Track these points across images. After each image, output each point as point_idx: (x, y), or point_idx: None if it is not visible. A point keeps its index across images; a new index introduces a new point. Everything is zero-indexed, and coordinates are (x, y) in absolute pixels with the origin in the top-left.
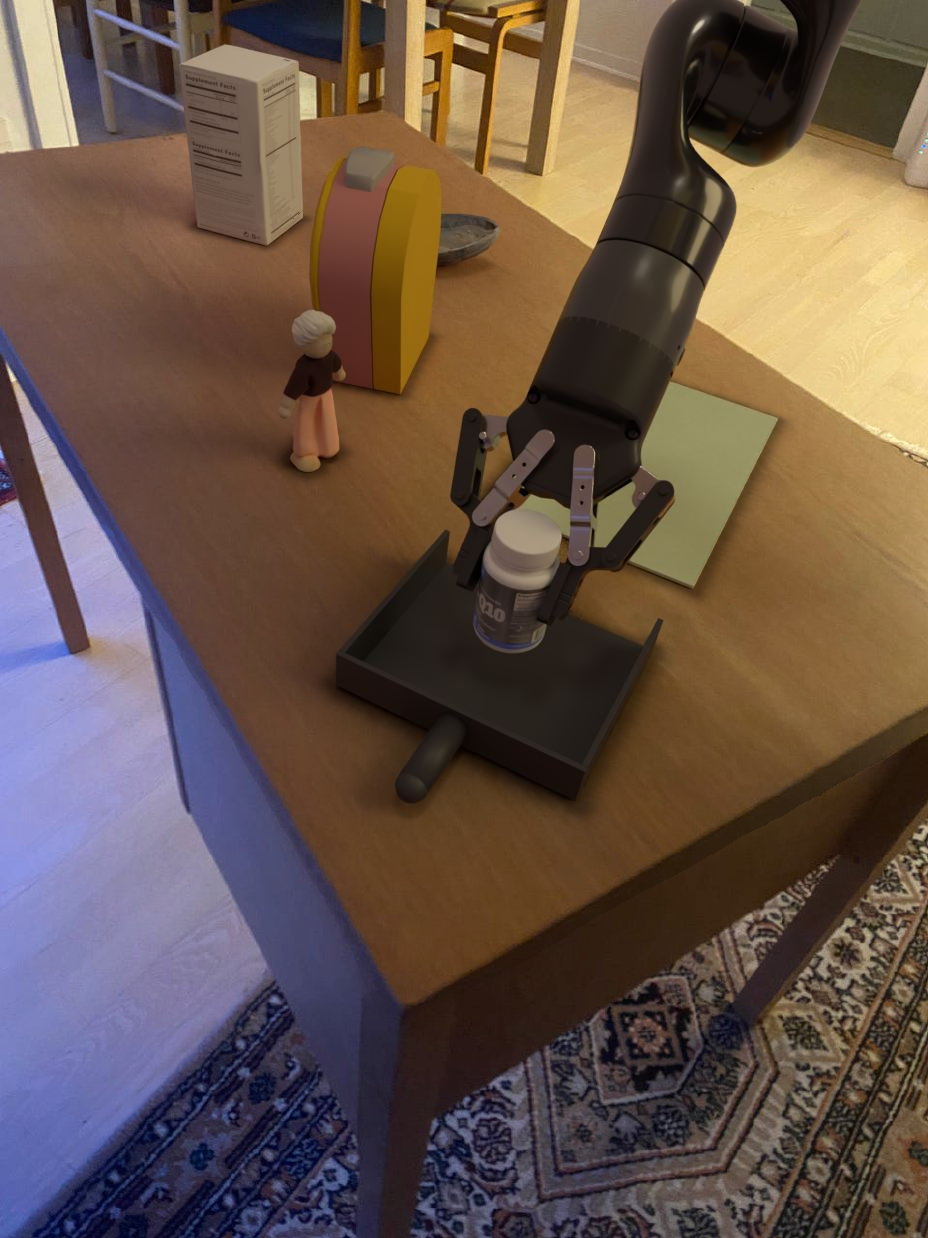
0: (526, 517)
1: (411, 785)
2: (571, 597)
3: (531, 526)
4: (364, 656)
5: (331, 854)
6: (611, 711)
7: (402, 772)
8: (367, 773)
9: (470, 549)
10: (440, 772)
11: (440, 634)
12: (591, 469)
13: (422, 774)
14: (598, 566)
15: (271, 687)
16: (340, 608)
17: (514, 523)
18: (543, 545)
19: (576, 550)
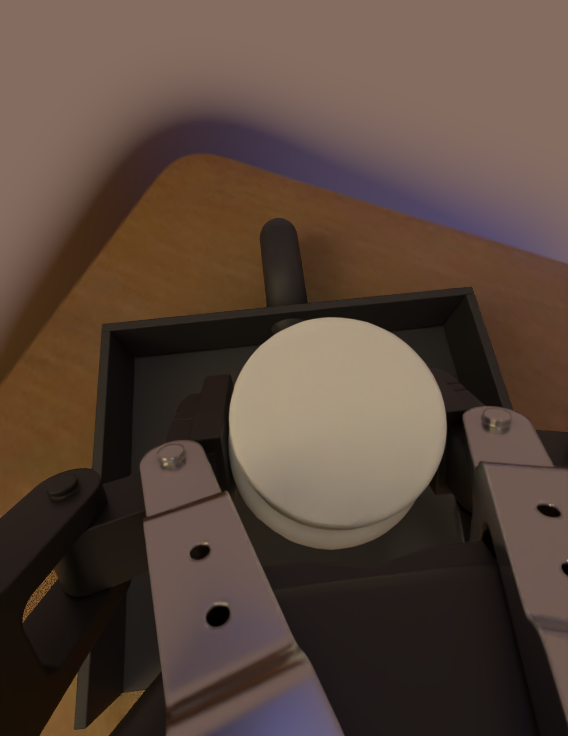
0: (379, 462)
1: (273, 219)
2: (173, 421)
3: (340, 434)
4: (457, 365)
5: (304, 189)
6: (101, 433)
7: (292, 228)
8: (336, 261)
9: (443, 382)
10: (262, 261)
11: None
12: (184, 732)
13: (271, 233)
14: (114, 482)
15: (498, 281)
16: (556, 429)
17: (389, 409)
18: (263, 384)
19: (182, 464)
